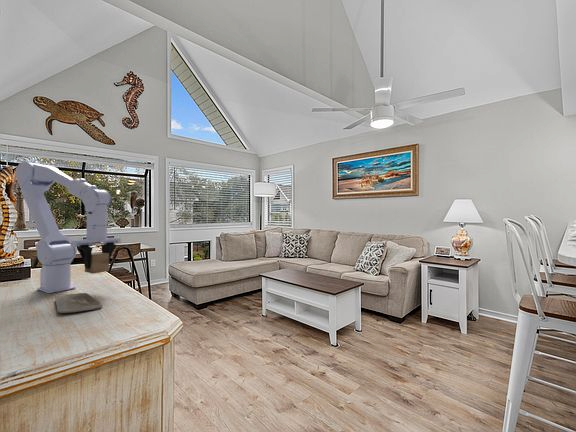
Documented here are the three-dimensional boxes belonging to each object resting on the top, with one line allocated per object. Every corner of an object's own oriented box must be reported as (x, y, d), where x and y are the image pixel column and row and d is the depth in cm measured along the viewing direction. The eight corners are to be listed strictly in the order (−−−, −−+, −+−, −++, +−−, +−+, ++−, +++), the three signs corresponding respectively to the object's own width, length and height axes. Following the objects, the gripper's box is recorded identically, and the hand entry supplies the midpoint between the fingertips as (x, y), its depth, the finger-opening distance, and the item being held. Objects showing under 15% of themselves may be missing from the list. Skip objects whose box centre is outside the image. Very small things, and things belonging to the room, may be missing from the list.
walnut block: (84, 271, 99) (84, 253, 99) (100, 269, 103) (100, 251, 103) (92, 273, 96) (92, 254, 96) (108, 271, 100) (108, 253, 100)
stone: (104, 306, 83) (59, 310, 76) (102, 316, 83) (57, 321, 76) (89, 288, 96) (50, 290, 89) (88, 297, 96) (49, 300, 89)
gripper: (78, 226, 91) (78, 271, 91) (125, 225, 104) (125, 264, 104) (67, 226, 95) (67, 269, 95) (114, 224, 107) (114, 262, 107)
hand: (96, 266), depth 100 cm, fingers closed on walnut block, 5 cm apart
